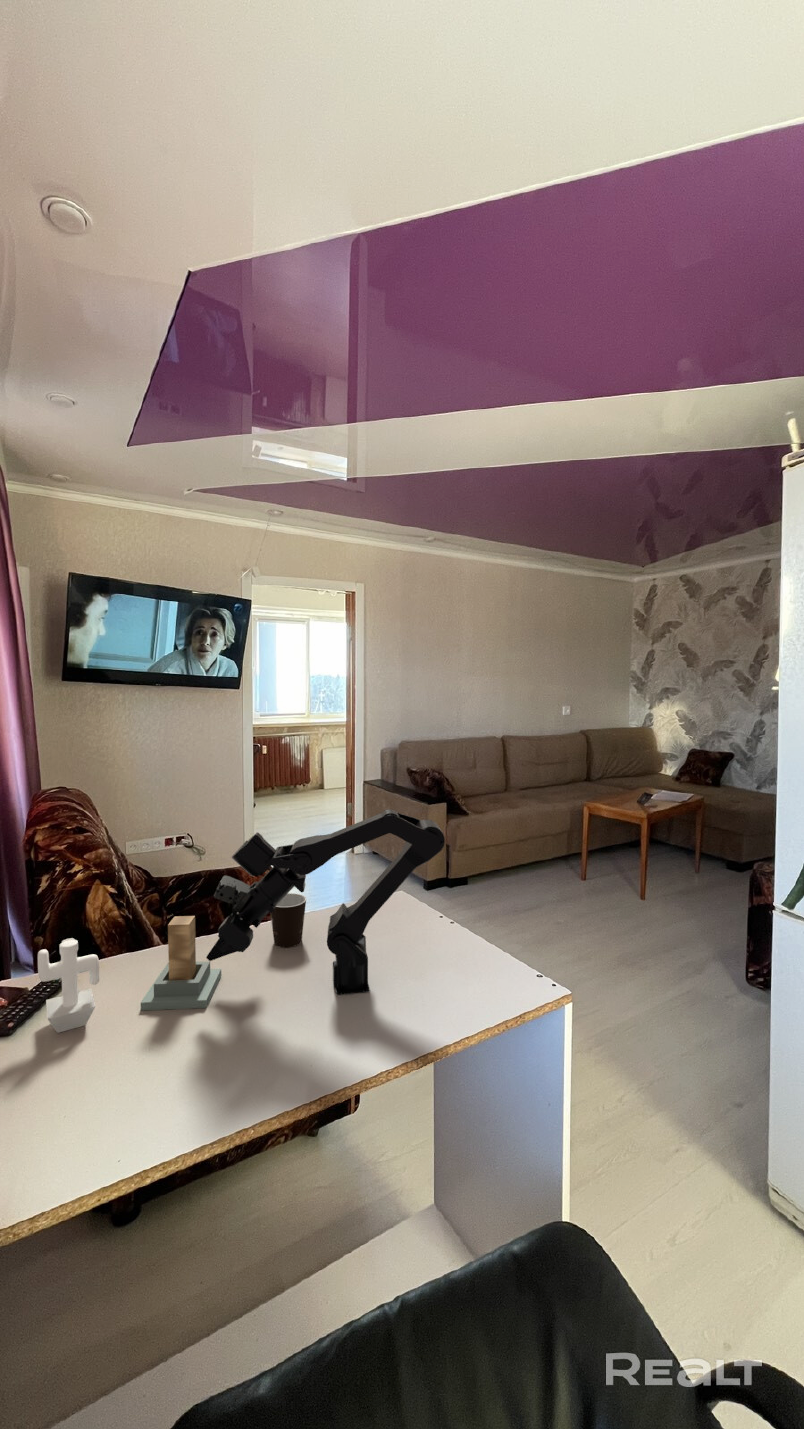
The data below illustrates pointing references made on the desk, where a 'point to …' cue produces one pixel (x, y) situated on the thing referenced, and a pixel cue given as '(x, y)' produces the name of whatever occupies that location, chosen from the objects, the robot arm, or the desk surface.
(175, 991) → the socket holder
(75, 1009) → the figurine
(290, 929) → the brown paper cup
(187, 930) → the oak stick
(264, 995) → the desk surface
